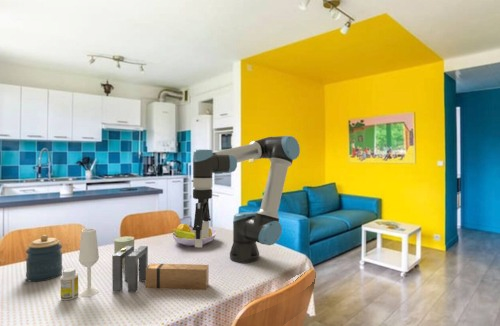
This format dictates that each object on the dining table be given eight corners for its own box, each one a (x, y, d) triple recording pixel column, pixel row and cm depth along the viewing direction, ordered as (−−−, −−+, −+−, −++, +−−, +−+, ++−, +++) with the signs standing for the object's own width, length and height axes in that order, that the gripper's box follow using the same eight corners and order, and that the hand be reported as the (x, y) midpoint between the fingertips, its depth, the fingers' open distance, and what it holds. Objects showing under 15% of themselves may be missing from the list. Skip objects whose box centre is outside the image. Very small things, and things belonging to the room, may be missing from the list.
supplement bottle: (75, 292, 111) (74, 265, 111) (80, 296, 108) (80, 269, 107) (58, 297, 107) (58, 270, 107) (63, 302, 104) (63, 274, 103)
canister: (39, 284, 118) (39, 240, 117) (18, 279, 122) (17, 237, 122) (69, 272, 130) (69, 232, 130) (49, 267, 135) (48, 229, 134)
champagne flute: (97, 295, 109) (96, 231, 108) (76, 297, 107) (76, 232, 106) (100, 287, 115) (100, 227, 115) (81, 289, 114) (81, 228, 113)
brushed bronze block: (208, 284, 119) (208, 264, 119) (206, 289, 114) (206, 269, 114) (150, 282, 120) (150, 263, 120) (145, 288, 115) (145, 268, 115)
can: (127, 266, 137) (127, 241, 136) (109, 265, 139) (109, 240, 138) (138, 259, 146) (138, 235, 146) (122, 258, 148) (121, 234, 147)
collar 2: (147, 278, 124) (147, 246, 123) (135, 292, 112) (135, 256, 111) (140, 278, 124) (140, 246, 123) (127, 292, 112) (127, 255, 111)
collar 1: (133, 278, 124) (133, 244, 123) (120, 291, 112) (120, 254, 111) (126, 278, 124) (126, 244, 124) (112, 291, 112) (112, 254, 112)
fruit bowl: (204, 234, 193) (204, 217, 193) (224, 244, 171) (224, 225, 171) (162, 241, 178) (162, 222, 177) (178, 253, 155) (178, 232, 155)
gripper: (199, 185, 128) (199, 233, 129) (185, 192, 103) (184, 251, 104) (216, 185, 128) (216, 233, 128) (206, 192, 103) (205, 252, 104)
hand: (202, 241), depth 116 cm, fingers open, 13 cm apart
